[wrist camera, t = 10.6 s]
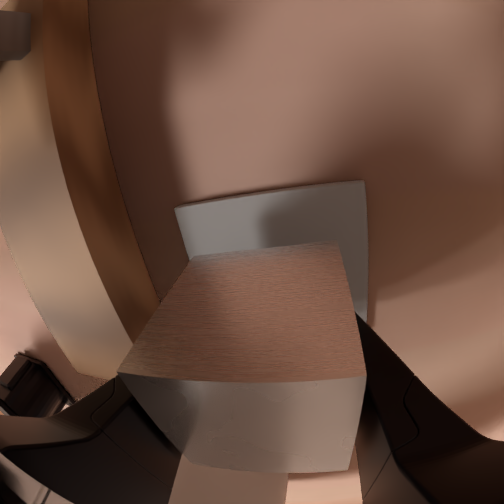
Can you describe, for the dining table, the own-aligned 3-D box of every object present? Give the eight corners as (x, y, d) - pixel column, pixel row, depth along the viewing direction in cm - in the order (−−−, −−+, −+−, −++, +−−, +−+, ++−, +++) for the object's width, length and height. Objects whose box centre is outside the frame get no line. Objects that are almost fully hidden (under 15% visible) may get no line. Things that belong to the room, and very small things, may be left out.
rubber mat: (364, 331, 12) (365, 337, 12) (220, 340, 14) (218, 346, 13) (362, 179, 9) (364, 182, 9) (177, 205, 11) (173, 208, 11)
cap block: (340, 348, 10) (347, 470, 6) (226, 354, 11) (192, 464, 7) (337, 240, 8) (366, 375, 4) (194, 255, 9) (116, 371, 5)
